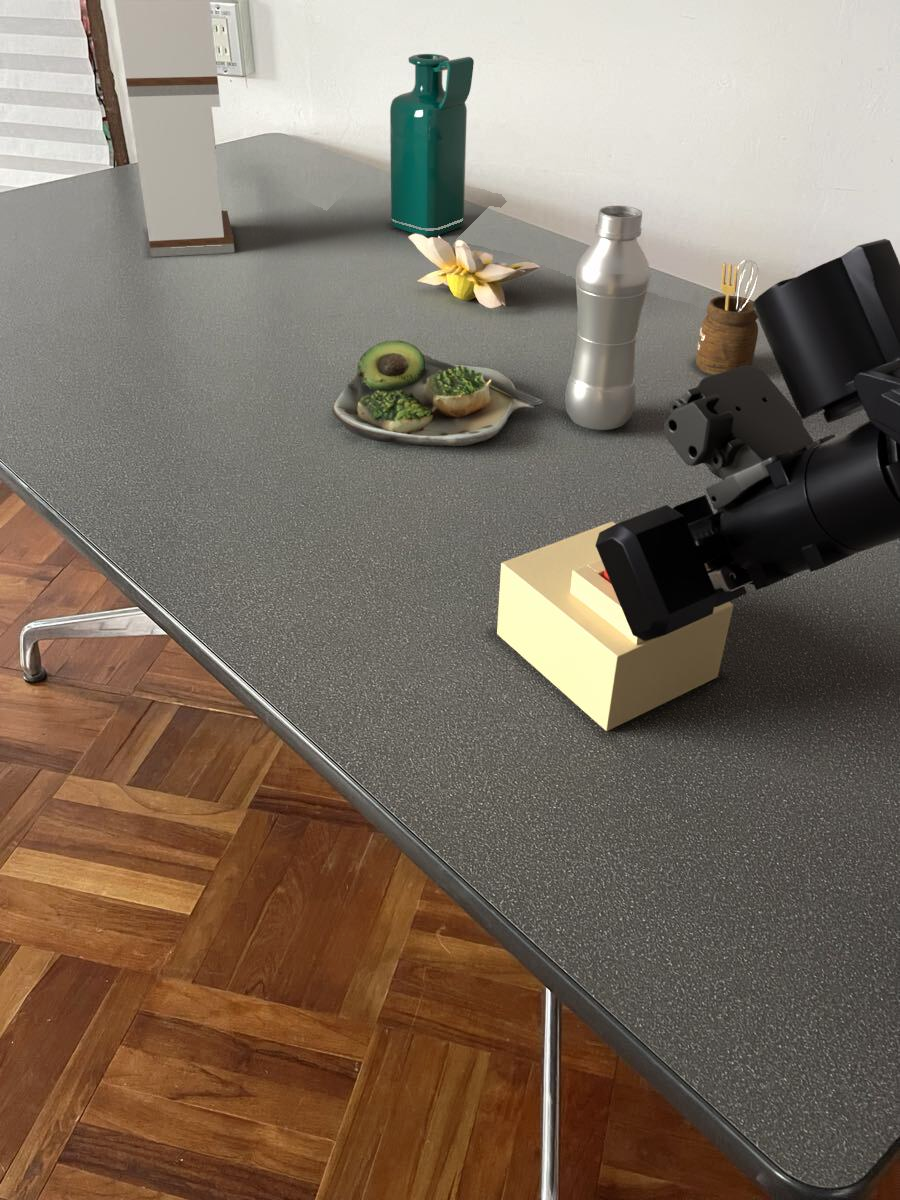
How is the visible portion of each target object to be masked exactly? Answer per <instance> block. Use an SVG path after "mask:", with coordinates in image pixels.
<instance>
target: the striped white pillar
mask: <svg viewBox="0 0 900 1200" xmlns="http://www.w3.org/2000/svg"><path fill="white" fill-rule="evenodd" d="M113 1H114V7H115V8H114V9H115V13H116V21H117V29H118V35H119V42H120V49H121V55H122V63H123V68H124V69H123V70H124V76H125V84H126V90H127V96H128V103H129V111H130V118H131V124H132V131H133V138H134V139H133V140H134V145H135V152H136V159H137V167H138V172H139V173H138V174H139V180H140V181H139V182H140V186H141V187H140V188H141V193H142V194H141V195H142V199H143V200H142V201H143V207H144V214H145V221H146V229H147V235H148V242H149V249H150V257H151V258H154V257H155V258H156V257H157V258H159V257H177V256H193V255H197V256H198V255H213V254H232V253H235V252H236V251H235V242H234V234H233V230H232V225H231V222H230V221H231V220H230V217H229V213H228V210H222V206H221V205H222V204H221V193H220V184H219V175H218V164H217V155H216V150H217V146H216V138H215V137H216V136H215V127H214V126H215V125H214V119H213V118H214V117H213V108H220V107H221V102H220V101H221V100H220V92H219V91H220V90H219V89H220V88H219V80H218V69H217V58H216V49H215V39H214V28H213V18H212V7H211V0H113ZM203 245H204V246H203ZM206 245H222V246H206ZM186 246H203V247H186ZM171 247H185V248H171Z"/></svg>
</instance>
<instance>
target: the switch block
mask: <svg viewBox="0 0 900 1200" xmlns="http://www.w3.org/2000/svg"><path fill="white" fill-rule="evenodd" d="M615 524H616V523H615V522H614V521H609V522H607V523H605V524H601V525H599V526H597V527H596V526H595V527H594V528H591V529H588V530H586V531H583V532H580V533H577V534H575V535H572V536H570V537H567V538H564V539H562V540H561V539H560V540H558V541H556V542H553V543H550V544H548V545H546V546H542V547H539V548H538V549H535V550H531V551H530V552H526V553H524V554H521V555H519V556H516V557H513V558H510V559H507V560H505V561H502V562H501V563H500V576H499V577H500V579H499V595H498V609H497V610H498V611H497V613H498V614H497V626H496V627H497V629H496V634H497V636H498V637H500V638H501V639H502V640H503V641H504V642H505V643H506V644H507V645H509V646H510V647H511V648H512V649H513V650H514V651H515V652H516V653H517V654H519V655H520V656H521V657H522V658H523V659H524V660H525V661H527V662H528V663H529V664H530V665H531V666H532V667H533V668H535V670H537V672H539V673H540V674H541V675H543V676H544V677H545V679H547V680H548V681H549V682H550V683H551V684H552V685H554V686H555V687H556V688H557V689H558V690H559V691H561V693H563V694H564V696H566V697H567V698H568V699H569V700H570V701H572V702H573V703H574V704H575V705H576V706H577V707H579V709H581V710H582V711H583V712H584V713H585V714H586V715H587V716H588V717H590V718H591V719H592V720H593V721H594V722H595V723H596V724H598V725H599V727H601V728H602V729H603V730H604V731H606V732H608V731H611V730H613V729H614V728H616V727H618V726H620V725H623V724H625V723H627V722H630V721H631V720H633V719H635V718H637V717H639V716H641V715H644V714H645V713H647V712H650V711H651V710H653V709H655V708H657V707H660V706H661V705H663V704H666V703H668V702H670V701H672V700H674V699H676V698H678V697H680V696H683V695H684V694H686V693H688V692H691V691H692V690H694V689H696V688H698V687H700V686H703V685H704V684H706V683H708V682H710V681H712V680H714V679H715V680H716V679H717V678H718V677H719V674H720V669H721V664H722V659H723V655H724V652H725V651H724V650H725V646H726V641H727V636H728V632H729V627H730V623H731V619H732V614H733V609H734V604H733V603H731V601H729V602H727V603H725V604H722V605H720V606H718V607H714V610H713V614H711V615H709V616H707V617H705V618H702V619H700V620H698V621H696V622H693V623H691V624H689V625H687V626H685V627H682V628H680V629H678V630H676V631H673V632H671V633H669V634H667V635H664V636H661V637H658V638H654V639H651V640H648V641H643V640H641V639H639V638H637V637H635V636H634V635H633V634H632V632H631V630H630V627H629V625H628V622H627V620H626V618H625V615H624V613H623V610H622V608H621V606H620V603H619V601H618V598H617V596H616V594H615V591H614V589H613V586H612V584H611V583H610V582H608V581H607V580H606V579H604V572H605V567H604V565H603V562H602V560H601V558H600V555H599V553H598V550H597V548H596V546H595V545H596V542H597V539H598V536H599V532H601V531H603V530H605V529H607V528H609V527H611V526H613V525H615Z"/></svg>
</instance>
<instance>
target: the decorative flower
mask: <svg viewBox="0 0 900 1200" xmlns="http://www.w3.org/2000/svg"><path fill="white" fill-rule="evenodd" d="M408 239H409V240H410V241H411V242H412V243H413V244H414V246H415V248H417V249H418V251H419V252H420V253H421V254H422V255H423V256H424V257H425V258H427V259H428V260H429V261H430V262H431V263H433V264H434V265H435V266H436V267H438V268H440V269H438V270H435V271H432V272H429V273H428V274H426V275H424V276H423V277H421V278H420V279H418V280H417V282H420V283H423V284H424V283H425V284H427V285H431V286H439V285H441V284H444V286H445V285H446V286H448V287H449V290H450V292H451V294H452V295H453V296H454V297H455V298H457V299H459V300H460V301H466V302H468V301H471V300H472V299H474V298H476V299H477V301H478V303H479V304H480V305H482V306H483V307H485V308H489V309H494V308H495V309H496V308H497V307H500V306H502V305H503V306H506V300H505V293H504V290H503V286H502V284H501V283H506V282H509V281H510V282H511V281H514V280H516V279H519V278H521V277H524V276H526V275H528V274H530V273H531V272H534V271H536V270H538V269H539V268H541V266H540V265H538V264H536V263H534V262H533V261H532V262H529V261H528V262H527V261H523V262H516V263H512V264H509V263H506V262H493V259H494V256H493V253H489V252H484V251H481V250H474V251H472V250H471V248H470V246H469V245H468V244H467V243H466V242H465V241H463V240H461V239H458V240H456V241H455V242H454V244H453V247H452V246H451V244H450V243H449V242H448V241H447V240H445V239H444V238H442V237H441V235H438V236H437V237H436V236H433V237H426V236H423V235H420V234H414V233H412V234H411V235H409V236H408ZM506 265H507V266H506Z"/></svg>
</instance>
